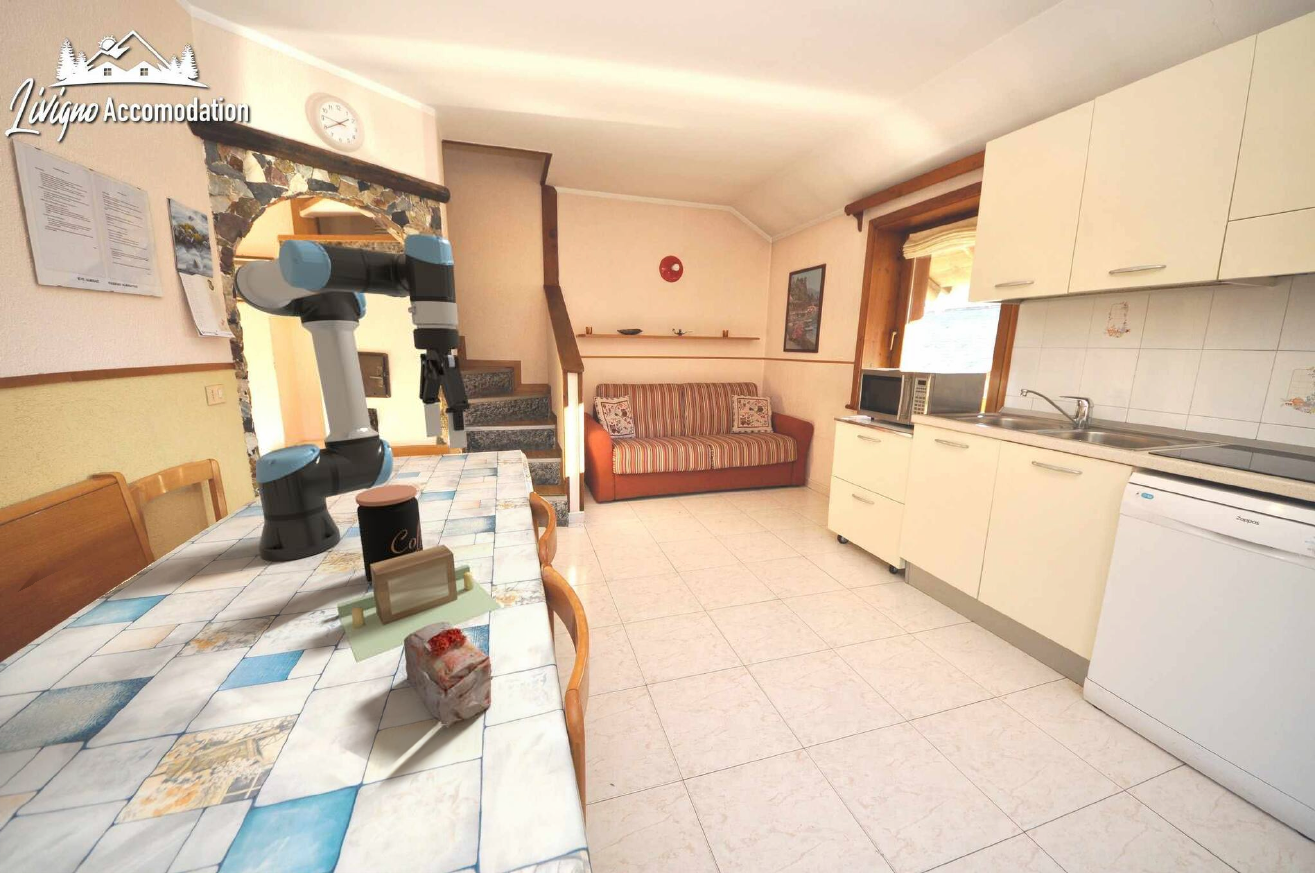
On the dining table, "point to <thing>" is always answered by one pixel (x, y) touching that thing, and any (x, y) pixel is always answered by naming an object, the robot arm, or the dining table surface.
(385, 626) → the ledge board
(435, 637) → the food item
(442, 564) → the brown box-like piece
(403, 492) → the coffee jar
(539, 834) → the dining table surface
